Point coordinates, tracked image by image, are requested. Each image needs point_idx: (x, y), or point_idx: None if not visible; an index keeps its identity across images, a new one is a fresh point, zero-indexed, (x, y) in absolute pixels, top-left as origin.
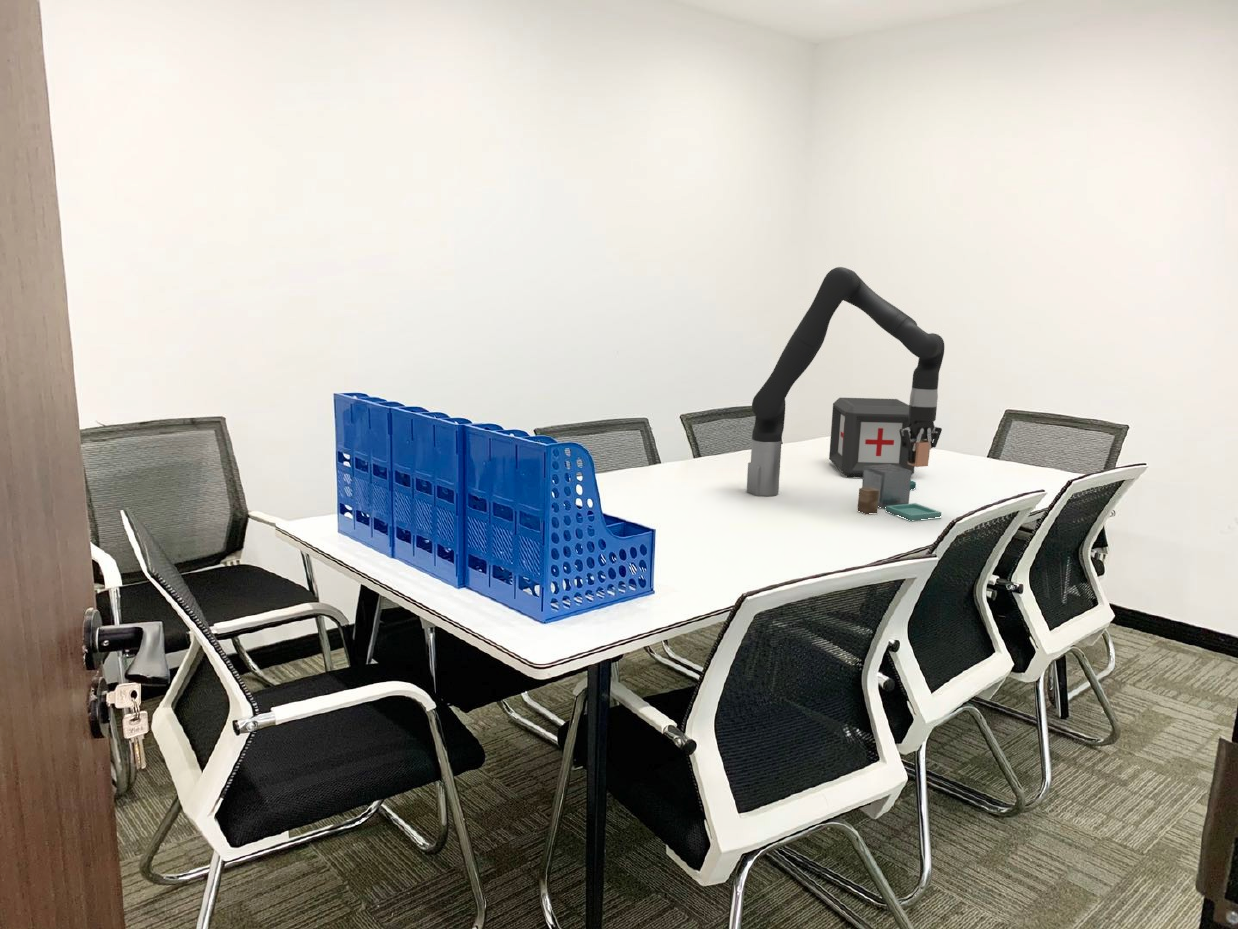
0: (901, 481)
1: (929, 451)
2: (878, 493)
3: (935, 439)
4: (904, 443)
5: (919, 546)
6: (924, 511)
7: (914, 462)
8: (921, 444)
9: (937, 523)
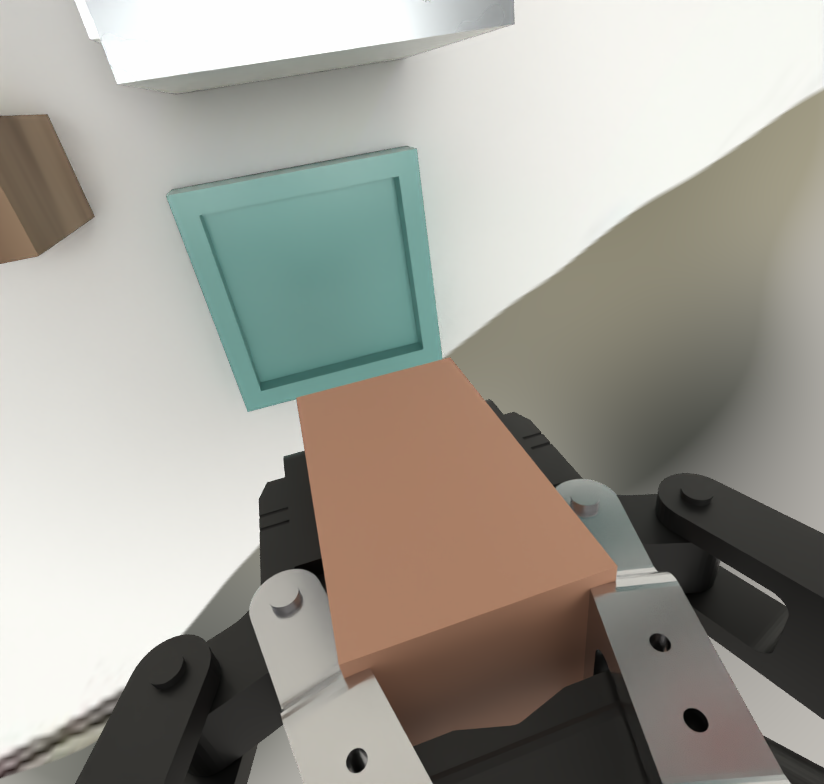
0: (362, 54)
1: None
2: (45, 249)
3: (754, 664)
4: (153, 749)
5: None
6: (399, 270)
7: None
8: None
9: None
